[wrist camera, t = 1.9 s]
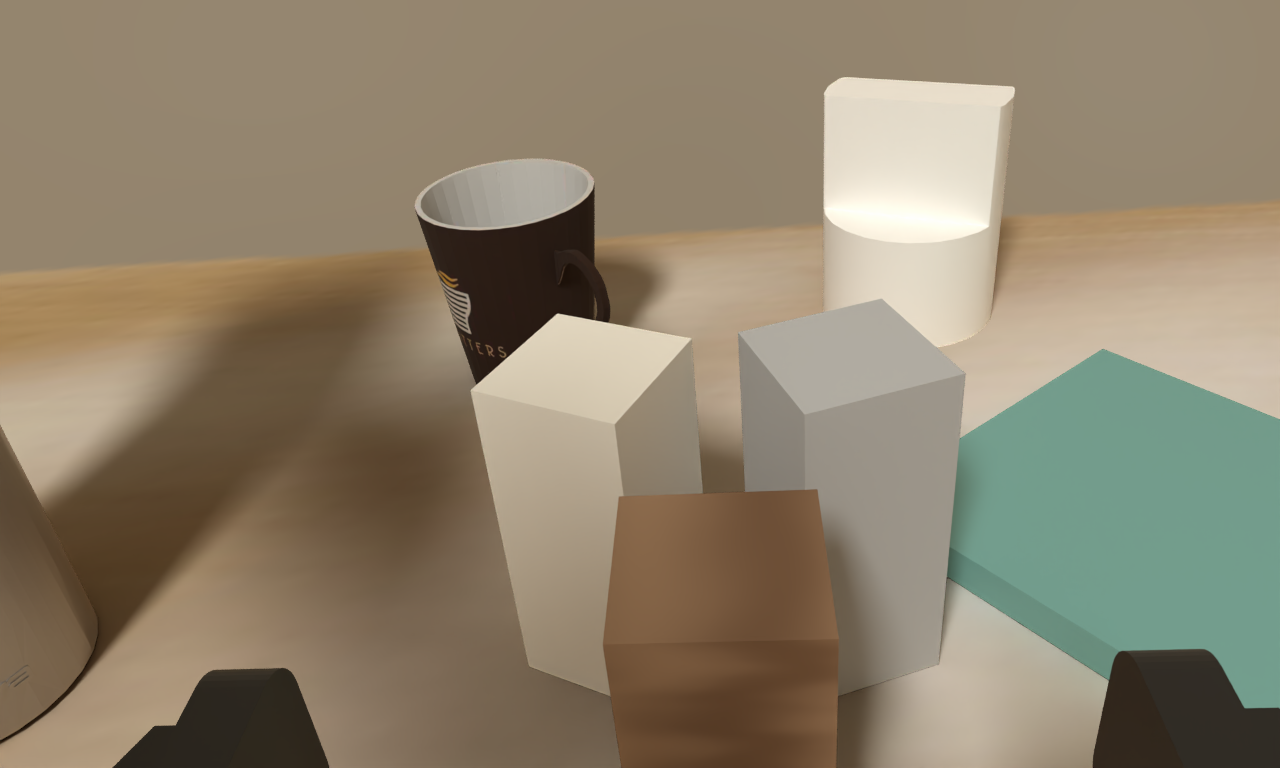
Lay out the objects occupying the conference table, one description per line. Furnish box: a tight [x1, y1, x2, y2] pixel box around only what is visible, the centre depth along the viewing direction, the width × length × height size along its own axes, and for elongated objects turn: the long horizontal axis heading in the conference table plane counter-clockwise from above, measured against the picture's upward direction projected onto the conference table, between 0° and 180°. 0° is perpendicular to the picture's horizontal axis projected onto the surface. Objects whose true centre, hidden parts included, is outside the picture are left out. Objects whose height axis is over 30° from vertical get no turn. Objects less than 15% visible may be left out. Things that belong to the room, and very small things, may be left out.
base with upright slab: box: [823, 77, 1015, 347], centre depth 54 cm, size 9×9×12 cm
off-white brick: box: [470, 314, 703, 696], centre depth 35 cm, size 5×5×12 cm
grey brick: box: [738, 299, 966, 696], centre depth 35 cm, size 5×5×12 cm
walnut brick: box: [603, 489, 839, 768], centre depth 27 cm, size 5×5×12 cm
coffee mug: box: [414, 159, 610, 384], centre depth 51 cm, size 12×9×10 cm
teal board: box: [947, 349, 1280, 708], centre depth 40 cm, size 16×16×2 cm
